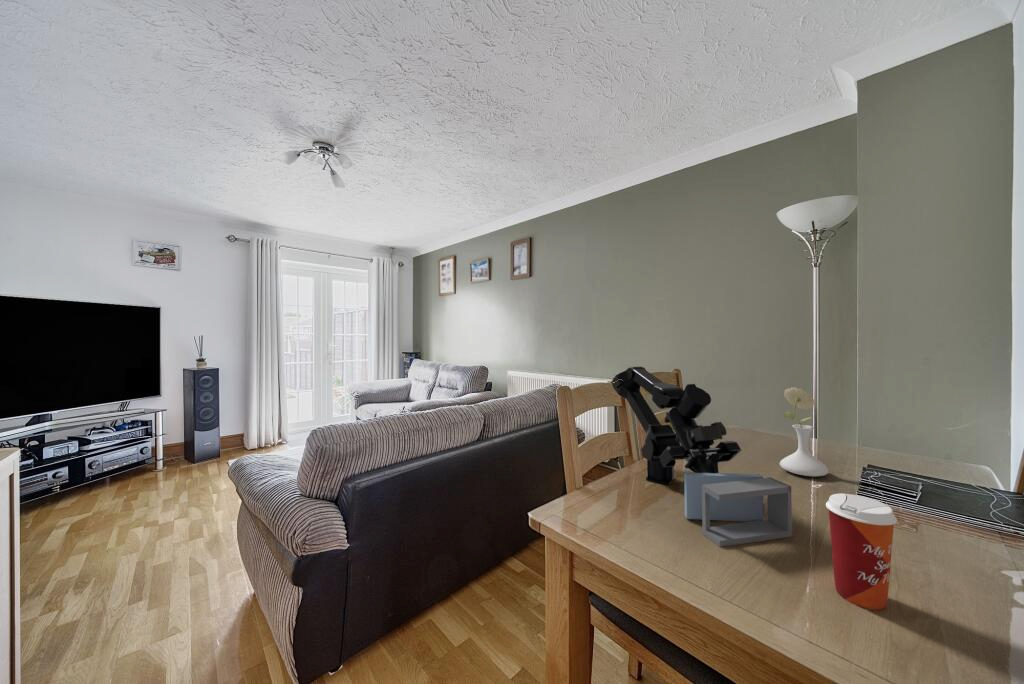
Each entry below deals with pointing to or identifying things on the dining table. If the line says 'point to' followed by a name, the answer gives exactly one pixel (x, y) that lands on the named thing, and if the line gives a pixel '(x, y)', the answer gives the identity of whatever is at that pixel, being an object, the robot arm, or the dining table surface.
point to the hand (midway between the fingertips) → (718, 488)
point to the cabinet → (755, 530)
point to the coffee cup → (861, 548)
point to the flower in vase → (802, 439)
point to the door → (726, 508)
